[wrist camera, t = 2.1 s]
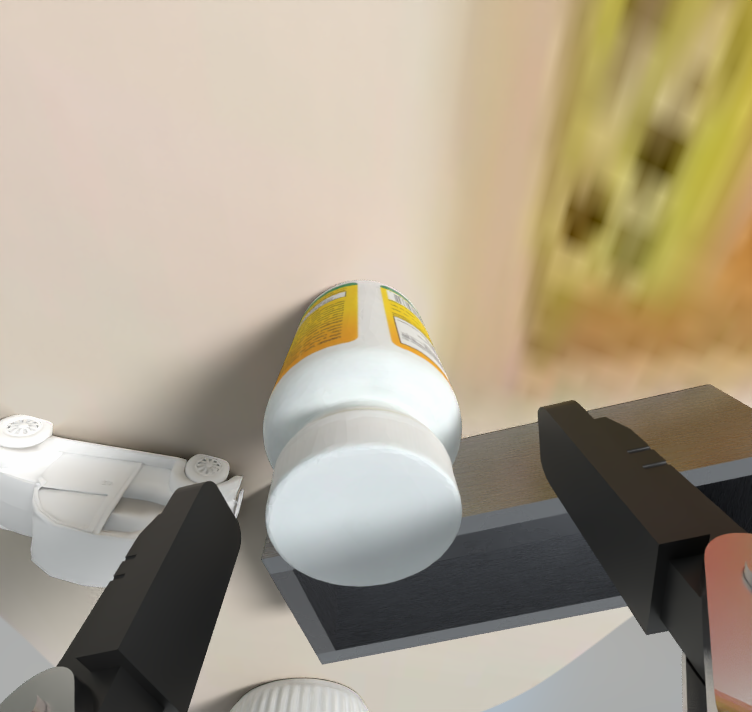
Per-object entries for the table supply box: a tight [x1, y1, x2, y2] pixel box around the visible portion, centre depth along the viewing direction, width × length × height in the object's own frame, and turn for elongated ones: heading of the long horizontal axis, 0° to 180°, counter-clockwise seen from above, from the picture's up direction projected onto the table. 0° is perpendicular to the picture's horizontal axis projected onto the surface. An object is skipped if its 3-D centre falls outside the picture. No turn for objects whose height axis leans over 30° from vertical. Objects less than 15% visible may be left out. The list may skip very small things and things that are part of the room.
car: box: [0, 414, 244, 588], centre depth 17 cm, size 12×6×5 cm, turn 68°
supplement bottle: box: [263, 280, 462, 587], centre depth 12 cm, size 5×5×10 cm
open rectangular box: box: [261, 385, 752, 664], centre depth 18 cm, size 9×22×4 cm, turn 103°
